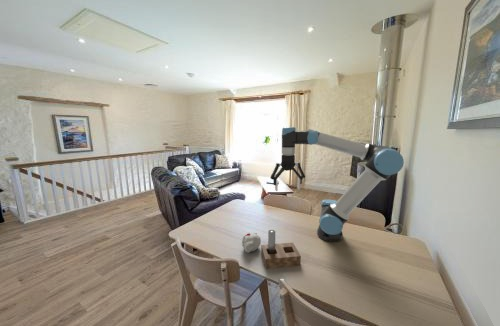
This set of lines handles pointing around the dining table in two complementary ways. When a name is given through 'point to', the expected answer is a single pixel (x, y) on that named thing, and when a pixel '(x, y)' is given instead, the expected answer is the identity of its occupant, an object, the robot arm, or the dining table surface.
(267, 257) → the bore block
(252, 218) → the dining table surface
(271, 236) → the pin
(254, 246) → the white lumpy figurine
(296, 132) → the robot arm
